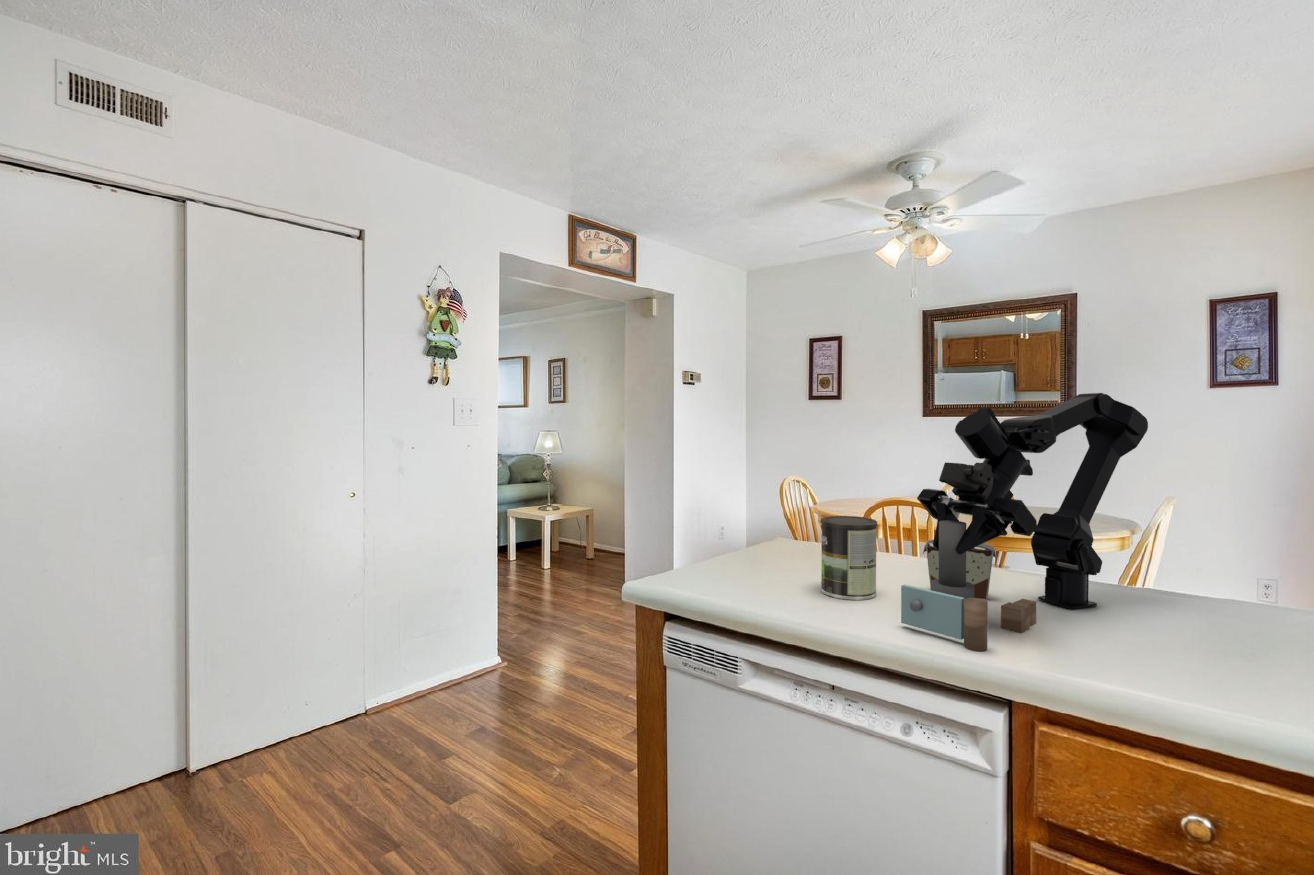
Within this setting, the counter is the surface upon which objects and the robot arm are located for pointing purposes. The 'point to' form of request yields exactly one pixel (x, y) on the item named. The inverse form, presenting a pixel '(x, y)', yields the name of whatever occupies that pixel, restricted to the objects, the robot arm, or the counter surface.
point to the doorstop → (952, 562)
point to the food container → (967, 566)
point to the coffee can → (848, 557)
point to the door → (932, 611)
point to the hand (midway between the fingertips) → (946, 549)
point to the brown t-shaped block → (1012, 618)
